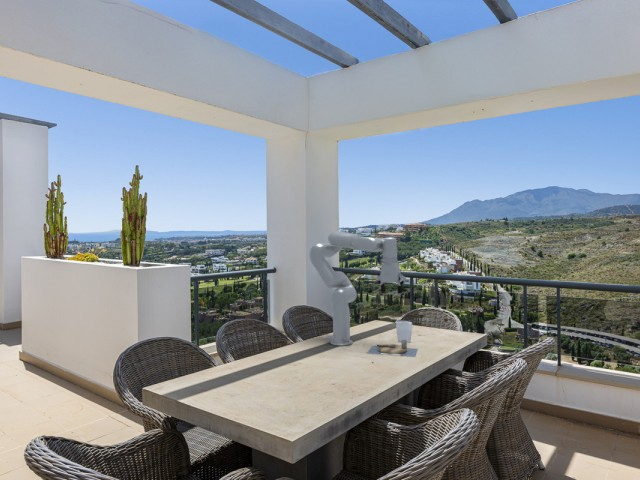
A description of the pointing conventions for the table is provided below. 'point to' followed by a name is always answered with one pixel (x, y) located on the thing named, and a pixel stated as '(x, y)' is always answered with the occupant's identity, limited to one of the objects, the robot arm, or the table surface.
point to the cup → (404, 330)
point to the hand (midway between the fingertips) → (391, 293)
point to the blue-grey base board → (410, 353)
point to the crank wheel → (393, 348)
